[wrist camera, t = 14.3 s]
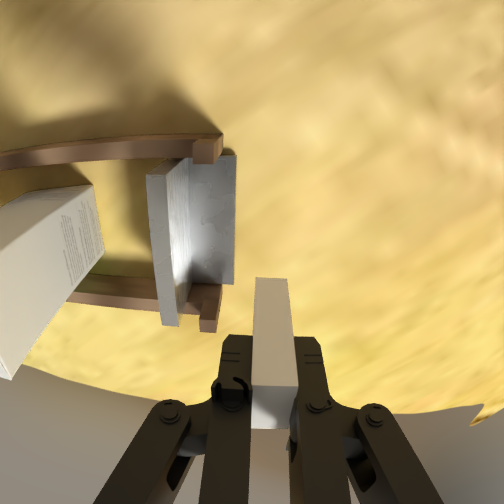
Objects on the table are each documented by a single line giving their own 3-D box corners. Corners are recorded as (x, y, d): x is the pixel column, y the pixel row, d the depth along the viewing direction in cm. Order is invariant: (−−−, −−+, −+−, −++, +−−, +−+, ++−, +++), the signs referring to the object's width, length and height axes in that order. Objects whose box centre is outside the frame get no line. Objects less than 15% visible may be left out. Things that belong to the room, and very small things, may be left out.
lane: (-33, 269, 27) (-56, 290, 23) (-58, 166, 21) (-88, 180, 17) (222, 294, 27) (216, 333, 23) (223, 133, 21) (213, 143, 17)
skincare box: (39, 251, 26) (-60, 358, 12) (23, 187, 23) (-102, 273, 9) (110, 252, 26) (14, 388, 12) (97, 178, 23) (-43, 283, 9)
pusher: (179, 278, 27) (162, 325, 21) (173, 154, 22) (145, 174, 16) (234, 281, 27) (228, 330, 21) (236, 155, 22) (229, 175, 16)
